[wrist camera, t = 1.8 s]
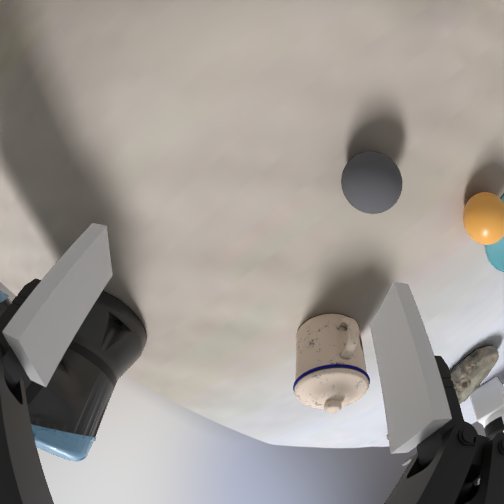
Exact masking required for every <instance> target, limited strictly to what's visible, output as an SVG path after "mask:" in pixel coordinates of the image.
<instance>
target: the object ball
mask: <svg viewBox="0 0 504 504" xmlns="http://www.w3.org/2000/svg"><path fill="white" fill-rule="evenodd" d="M463 223H464V227H465V229H466V232H467V233H468V235H469V236H470V237H471V238H472V239H473V240H474V241H476V242H477V243H480V244H483V245H491V244H494V243H496V242H498V241H499V240H501V239H502V238H503V236H504V202H503V201H502V200H501V198H499V197H498V196H497V195H495V194H493V193H490V192H480V193H477V194H475V195H474V196H472V197H471V198H470V199H469V200H468V202H467V203H466V205H465V208H464V212H463Z"/></svg>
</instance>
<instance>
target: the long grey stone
mask: <svg viewBox="0 0 504 504" xmlns="http://www.w3.org/2000/svg"><path fill="white" fill-rule="evenodd" d="M498 354H499V353H498V351H497V348H496V347H494V346H485V347H483V348H480V349H476V350H475V351H474V352H473V353H472V354H470V355H469V356H467V357H466V359H464V360H463V361H461V362H460V363H459V364H457V365H456V366H455V367H454V368H453V370H452V371H450V374H451V377H452V378H451V380H452V381H453V384H454V389H455V391H456V394H457V397H458V401H459V404H460V403H461V402H463V401H465V400H466V399H467V398H468V397H469V396H470V395H471V394H472V392H473V391H474V390H475V389H476V388H478V387H479V386H480V383H481V382H482V381H483V380H484V379H485V377H486V376H487V375H488V374H489V372H490V371H491V369H492V368H493V367H494V365H495V363H496V362H497V360H498V357H499V355H498ZM387 439H388V440H389V435H387Z"/></svg>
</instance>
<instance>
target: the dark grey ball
mask: <svg viewBox="0 0 504 504" xmlns="http://www.w3.org/2000/svg"><path fill="white" fill-rule="evenodd" d="M341 183H342V190H343V193H344V195H345V197H346V199H347V200H348V202H349V203H350V204H351V205H352V206H353V207H355V208H356V209H358V210H360V211H362V212H365V213H370V214H377V213H381V212H384V211H386V210H388V209H390V208H391V207H392V206H393V205H394V204H395V203H396V202H397V200H398V199H399V196H400V194H401V191H402V177H401V174H400V171H399V169H398V167H397V165H396V164H395V163H394V162H393V161H392V160H391V159H390V158H389V157H387V156H386V155H384V154H381V153H378V152H372V151H369V152H363V153H360V154H358V155H356V156H354V157H353V158H352V159H350V161H349V162H348V163H347V164H346V166H345V168H344V170H343V173H342V180H341Z"/></svg>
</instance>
